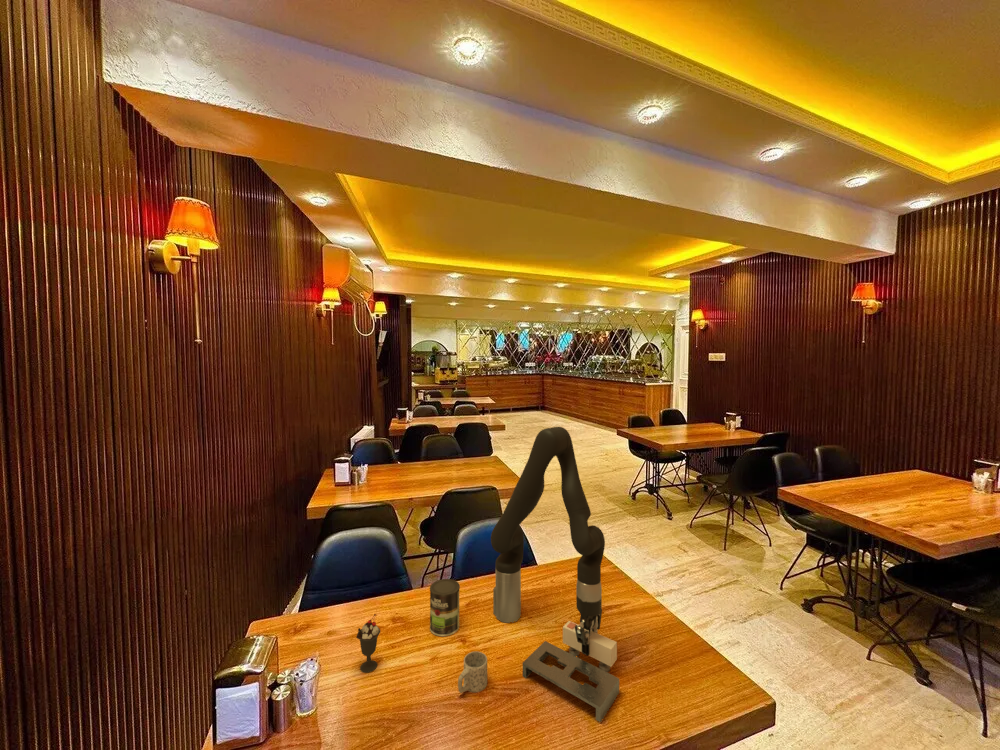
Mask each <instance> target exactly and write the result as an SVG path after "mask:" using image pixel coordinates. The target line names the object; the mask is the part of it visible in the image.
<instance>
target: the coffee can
mask: <svg viewBox="0 0 1000 750" xmlns="http://www.w3.org/2000/svg"><path fill="white" fill-rule="evenodd" d="M429 586H430V587H429V591H430V596H429V598H430V599H429V601H430V602H429V605H430V607H429V610H430V611H429V631H430V632H431V634H433V635H434V636H436V637H442V638H443V637H450V636H451V635H454V634H455V633H457V632H458V631H459V629H460V589H461V585H460V582H458V581H457V580H455V579H451V578H442V579H441V578H440V579H439V580H436V581H434V582H432V584H430V585H429Z"/></svg>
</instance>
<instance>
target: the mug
mask: <svg viewBox="0 0 1000 750" xmlns="http://www.w3.org/2000/svg"><path fill="white" fill-rule="evenodd" d="M487 686H488V656H487V655H486V654H485V653H483V652H482V651H475V650H474V651H471V652H468V653H467V654H465V656H464V658H463V670H462V672H461V673H460V675H458V680H457V689H458V692H459V693H460V694H462V693H464V692H465V693H466V692H467V691H468V692H470V693H473V694H474V693H476V694H477V693H479V692H482V691H484V690H485V689H486V687H487Z"/></svg>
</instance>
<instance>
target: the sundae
mask: <svg viewBox="0 0 1000 750" xmlns="http://www.w3.org/2000/svg"><path fill="white" fill-rule="evenodd" d="M376 616H377V614H376V613H374V614H373V616H372V618H370V620H368V621H367V622H366V623H364V624H363V626H362V627H361V628H360V627H358V628H357V631H358V632H357V634H356V639H357V640H359V643H360V650H361V654H362V655H363V656H364V657H366V660H365V661H364V662H362V664H361V665H360V667H359V670H360V671H361V672H362V673H364V674H366V673H367V674H368V673H371V672H373V671H375V670H377V667H378V662H377V661H376V660H374V659H373V660H372V655H373V654H374V653H375V652H376V650H377V645H378V644H377V643H378V637H379V635H380V634H381V629H380V628H379V626H378V625H377V623H376V621H372V620H374V619H375V617H376Z"/></svg>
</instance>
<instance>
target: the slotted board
mask: <svg viewBox="0 0 1000 750" xmlns="http://www.w3.org/2000/svg"><path fill="white" fill-rule="evenodd" d="M549 656H550V657H551V658H553V659H554V660H556V662H557V664H558V665H561V666H562V667H564V668H563V669H561V668H560V667H558V666H555V665H552V666H550V665H548V664H546V663H544V660H546V658H548V657H549ZM575 671H577V672H580V674H583V675H584V676H587V677H588V681H590V682H592V683H593V684H595V685H597V686H596V687H594V686H592V685H590V684H588V683H586V682H584V683H583V684H582V683H580V682H578V681H576V679H573V678H571V677H572V675H573V674H574V672H575ZM532 673H535V674H537V675H538V676H540V677H541V678H544V679H545V680H546V681H549V682H550V683H551V684H554V685H555V686H557V687H559V688H560V689H562V690H564V691H566V692H567V693H569V694H571V695H572V696H574V697H577V698H578V699H579V700H581V701H583V702H585V703H586V704H588V705H590V706H592V707H593V708H595V721H596V720H597V721H599V722H601V723H602V721H603V720H604V718H605V717H606V715H607V713H608V712H609V710H610V709H611V707H612V705H613V704H614V703H615V701H616V699H617V698H616V697H618V696H619V694H620V678H619V677H617V676H615V675H613V674H611V673H609V672H605V671H603V670H601V669H600V668H599V666H598V667H597V666H596V665H594V664H592V663H589V662H588V661H586V660H584V659H582V658H580V657H579V656H577V657H576V656H574V655H572V654H570V653H569V651H566V650H564V649H562V648H561V647H558V646H556V645H554V644H552V643H550V642H548V641H546V640H544V641H543V642H542V643H541V644H540V645H539V647H537V648H536V649H535V650H534V651H533V652H532V653H531V654H530V655H529V656H528V657H527V658H526V659H525V660H524V661H523V662H522V677H523V678H524V679H527V678H528V677H529V676H530V675H531V674H532ZM617 695H618V696H617ZM614 700H615V701H614ZM609 708H610V709H609ZM607 711H608V712H607ZM604 716H605V717H604ZM602 719H603V720H602ZM597 721H596V722H597ZM599 722H598V723H599Z"/></svg>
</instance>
